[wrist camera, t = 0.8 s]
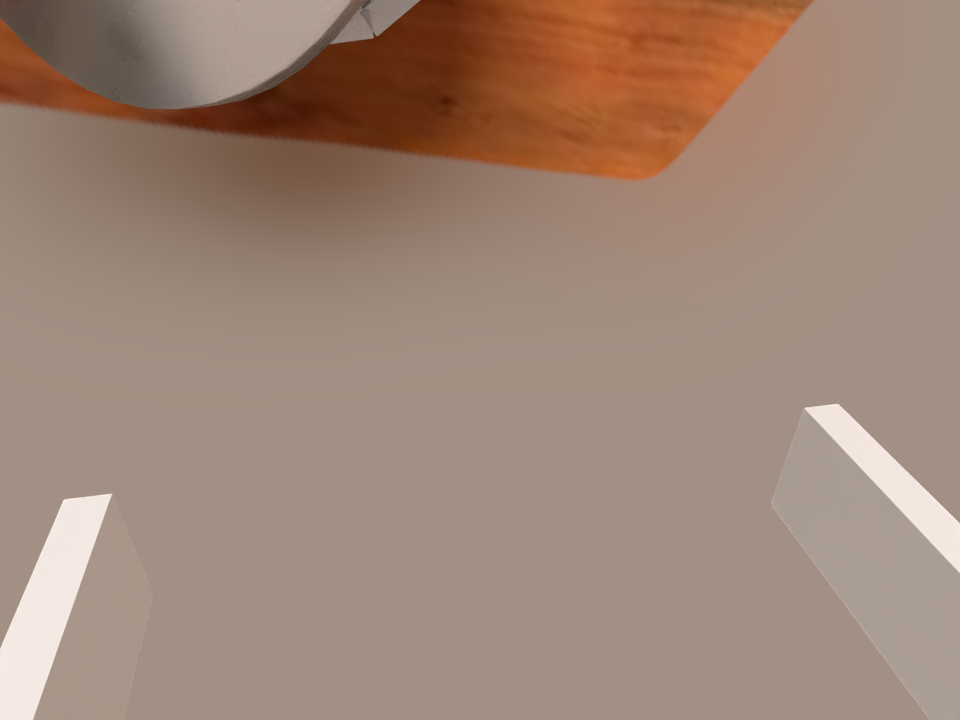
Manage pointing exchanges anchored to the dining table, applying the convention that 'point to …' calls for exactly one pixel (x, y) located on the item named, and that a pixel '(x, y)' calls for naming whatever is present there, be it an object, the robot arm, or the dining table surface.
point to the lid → (177, 44)
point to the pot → (373, 19)
